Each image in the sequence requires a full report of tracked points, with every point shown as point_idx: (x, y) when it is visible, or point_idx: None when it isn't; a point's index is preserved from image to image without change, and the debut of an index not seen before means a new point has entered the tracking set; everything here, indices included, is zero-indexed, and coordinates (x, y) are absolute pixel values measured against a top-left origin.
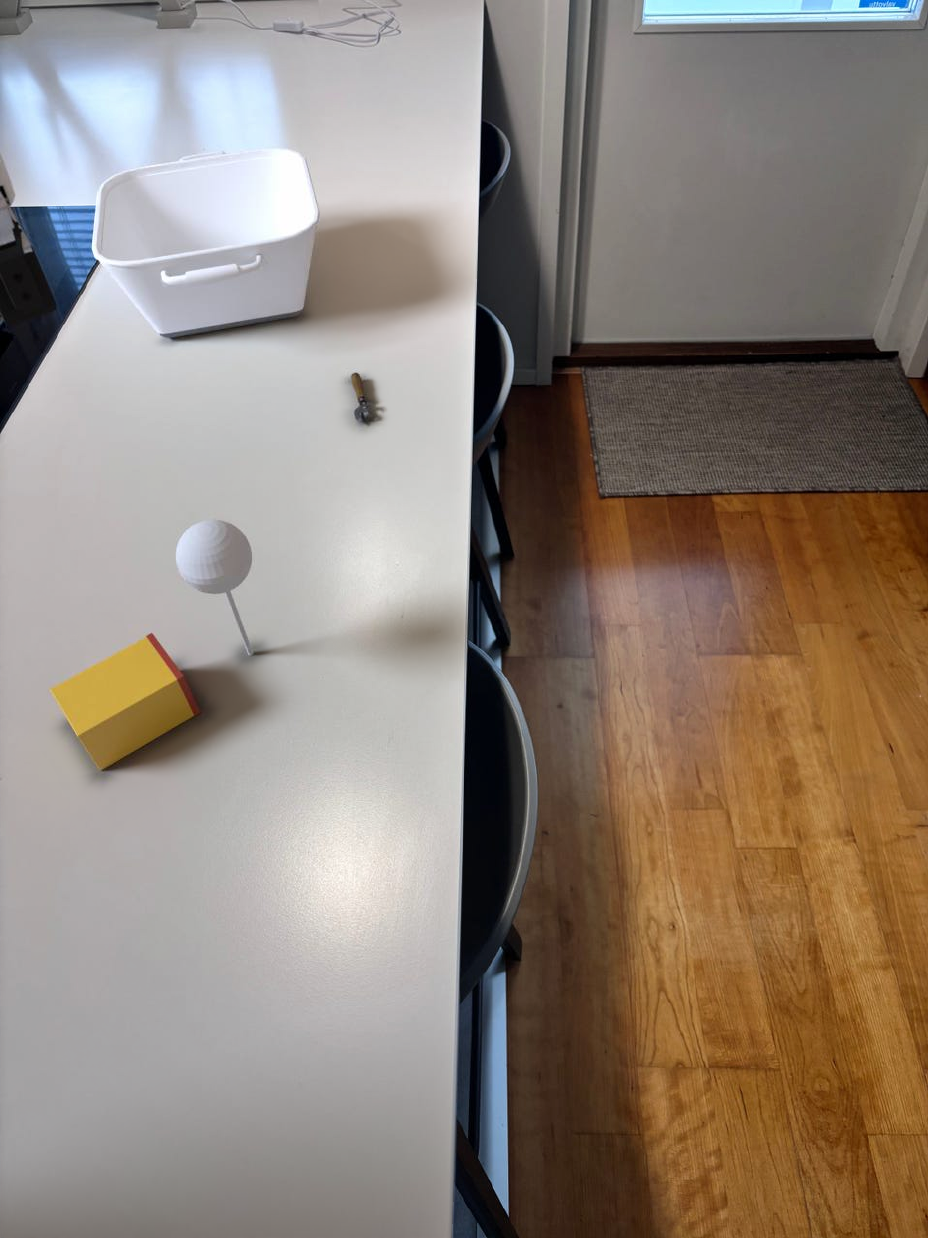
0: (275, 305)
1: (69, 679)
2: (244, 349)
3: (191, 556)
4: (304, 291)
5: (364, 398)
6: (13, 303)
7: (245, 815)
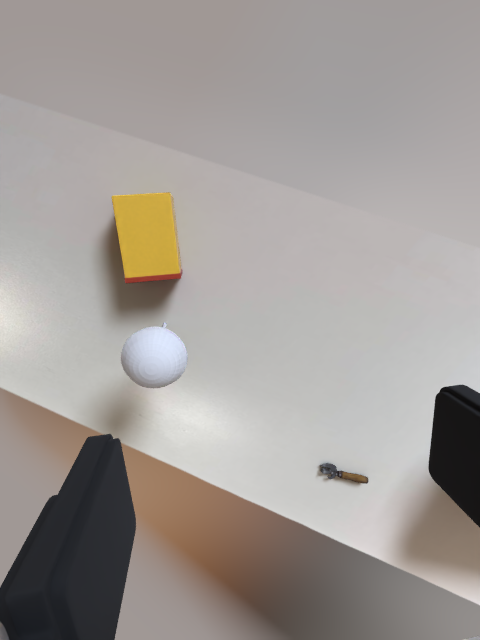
0: None
1: (170, 209)
2: None
3: (138, 346)
4: None
5: (339, 476)
6: (47, 509)
7: (36, 271)
